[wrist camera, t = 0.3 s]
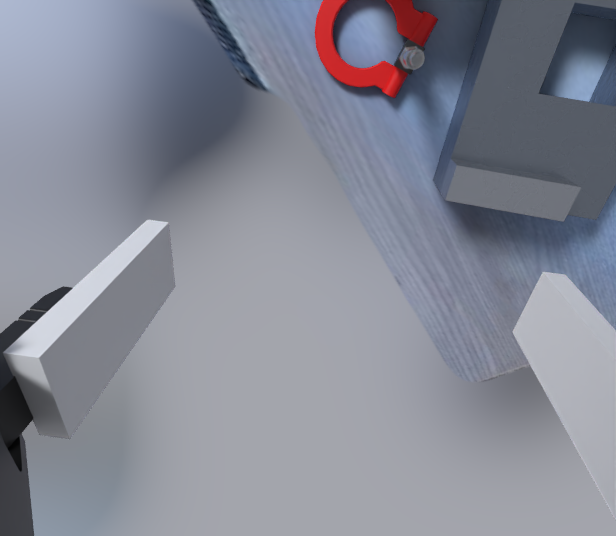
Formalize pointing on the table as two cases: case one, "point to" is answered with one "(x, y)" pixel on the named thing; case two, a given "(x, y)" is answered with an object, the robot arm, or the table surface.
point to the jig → (529, 120)
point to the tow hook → (383, 73)
